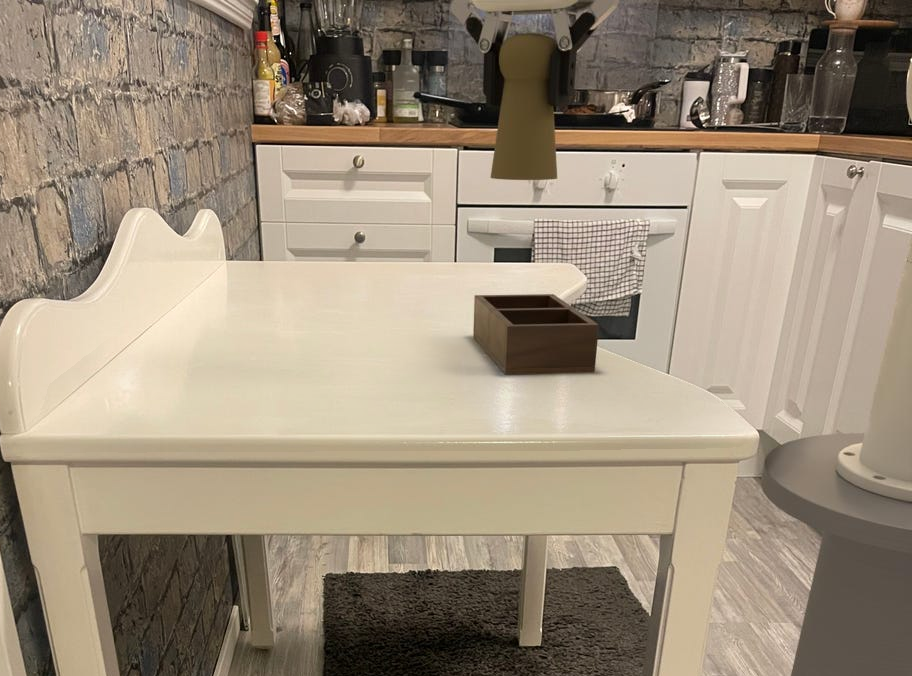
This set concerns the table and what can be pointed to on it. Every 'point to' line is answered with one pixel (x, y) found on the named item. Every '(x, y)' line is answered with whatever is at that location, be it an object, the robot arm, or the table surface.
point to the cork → (525, 111)
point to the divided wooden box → (535, 334)
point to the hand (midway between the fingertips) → (527, 103)
